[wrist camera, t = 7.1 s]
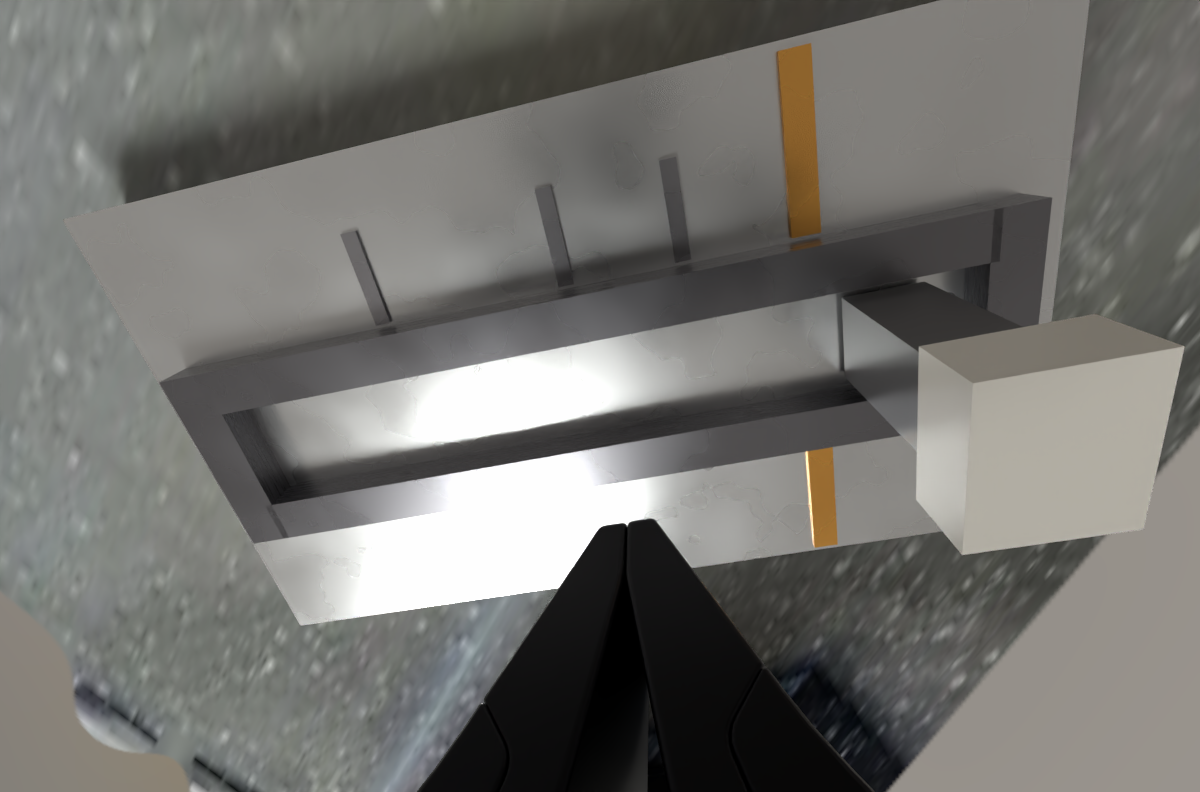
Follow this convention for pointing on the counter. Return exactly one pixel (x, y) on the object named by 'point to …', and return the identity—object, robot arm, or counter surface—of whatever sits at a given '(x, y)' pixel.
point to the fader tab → (1015, 414)
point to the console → (599, 305)
